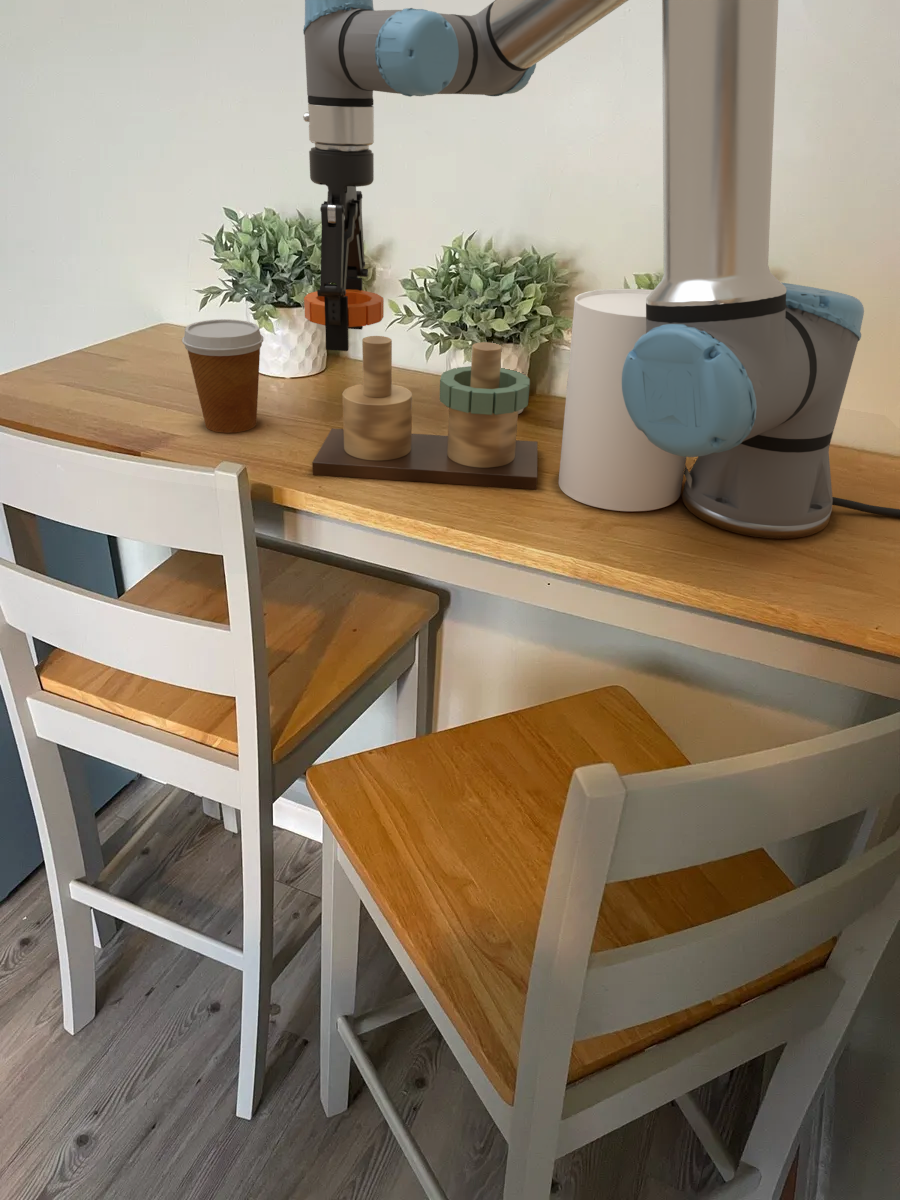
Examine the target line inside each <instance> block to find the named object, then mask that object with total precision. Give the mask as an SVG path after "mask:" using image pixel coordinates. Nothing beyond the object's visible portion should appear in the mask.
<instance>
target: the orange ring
mask: <svg viewBox="0 0 900 1200" xmlns="http://www.w3.org/2000/svg"><path fill="white" fill-rule="evenodd" d="M345 296H348V327H357V326H363V327H366V326H372V325H374V324H377V323H381V322H382V320H383V319H384V309H385V307H384V306H385V304H384V297H383V296H381V295H380V294H379V293H376V292H372V291H368V290H367V291H366V290H363V289H362V290H361V291H359V290H351V289H346V295H345ZM303 305H304V306H303V307H304V318H305V319H306V320H308V321H309V322H310V323H312V324H317V325H321V326H325V299H324V297H323V296H318V294H317V290H316V291H312V292H309V293H307V294H306V295H305V296H304V297H303Z"/></svg>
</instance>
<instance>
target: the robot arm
mask: <svg viewBox="0 0 900 1200" xmlns="http://www.w3.org/2000/svg"><path fill="white" fill-rule="evenodd" d="M628 1H629V0H493V1H492V2H491V3H490V4H488V5H487V6H485V7H484V8H483V9H481V10H480V11H479V12H478V13H475V14H472V15H466V14H465V15H464V14H456V13H455V14H454V13H439V12H436V11H432V10H427V9H423V8H413V7H410V8H408V7H407V8H406V7H405V8H403V9H380V10H375V9H374V0H304V25H303V29H302V30H303V35H304V53H305V57H304V58H305V75H306V94H307V95H306V96H307V103H308V104H307V110H308V112H304V113H303V116H302V118H303V121H304V122H306V123H308V140H309V141H310V142H311V143H312V144H314V147H311V148H310V150H309V151H308V156H309V157H308V158H309V159H308V160H309V178H310V181H311V182H312V183H313V184H316V185H320V186H326V187H327V198H326V200H327V201H325V200H323V203H321V205H320V208H319V211H320V217H321V218H320V219H321V235H320V236H321V238H320V243H321V245H320V281H319V282H320V286H319V289H317V290H316V291H317V294H318V296H323V297H324V299H325V325H324V330H325V350H326V351H341V352H349V330H363V328H364V326H357V327H348V296H345V295H346V289H351V290H359V291H361V290H363V278H368V277H369V269H368V268H366V260H365V246H364V226H363V204H362V203H363V194H362V191H361V190H357V187H367V186H370V185H372V184H373V183H374V180H375V179H374V178H375V176H374V175H375V173H374V170H375V169H374V168H375V167H374V165H375V164H374V163H375V162H374V160H375V159H374V152H373V151H372V149H370V146H372V145H373V144H374V143H375V107H374V92H380V93H381V92H382V93H387V94H388V93H389V94H399V95H400V94H401V95H402V96H405V97H410V98H411V97H426V96H433V95H475V96H476V95H477V96H478V95H479V96H486V97H487V96H488V97H500V96H504V95H511V94H515V93H517V92H519V91H521V90H523V89H524V88H525V87H527V85H528V84H529V81H530V79H531V78H532V75H534V73H535V70H536V68H537V64H538V63H539V62H540V61H542V60H543V59H545V58H546V57H548V56H549V55H551V54H553V52H555V51H556V50H558V49H560V48H561V47H562V46H564V45H565V44H567V43H568V42H571V40H572V39H574V38H575V37H577V36H578V35H580V34H582V33H583V32H584V31H586V30H588V29H589V28H590V27H592V26H593V25H594V24H596V23H598V22H599V21H600V20H603V18H605V17H606V16H608V15H609V14H610V13H612V12H614V11H616V10H617V9H619V7H621V6H622V5H624V4H625V3H627V2H628ZM778 16H779V0H661V38H662V39H661V49H662V50H661V53H662V54H661V55H662V59H661V61H662V65H661V66H662V67H661V68H662V72H661V73H662V195H663V196H662V204H663V205H662V206H663V207H662V211H663V212H662V213H663V215H662V218H663V221H662V223H663V227H662V229H663V230H662V231H663V236H662V237H663V239H662V240H663V274H662V278H661V280H660V282H658V284H657V285H656V286H655V287H654V289H652V290H653V291H652V292H651V293H650V295H649V296H648V297H647V298H646V334H644V335H642V336H641V337H640V338H639V339H638V341H637V342H636V343H635V345H634V348H633V349H632V350H631V351H630V352H629V353H628V355H627V357H626V360H625V363H624V366H623V371H622V393H623V398H624V402H625V405H626V408H627V411H628V413H629V415H630V417H631V419H632V421H633V422H634V424H635V425H636V427H637V428H638V429H639V430H641V431H642V432H643V433H644V434H645V435H646V436H647V438H648V440H649V441H650V442H651V443H652V444H654V445H655V446H657V447H658V448H660V449H662V450H664V451H666V452H668V453H671V454H674V455H678V456H683V457H686V458H696V460H695V462H694V464H693V465H692V467H691V469H690V471H689V468H688V467H687V465H686V464H685V470H684V477H685V482H684V484H683V491H682V495H681V496H682V498H681V499H682V502H683V505H684V507H686V509H687V510H688V511H689V512H690V513H691V514H693V516H695V517H697V518H698V519H700V520H702V521H704V522H705V523H708V524H710V525H712V526H714V527H716V528H720V529H722V530H726V531H729V532H732V533H736V534H740V535H744V536H751V537H755V538H756V537H757V538H763V539H796V538H804V537H808V536H812V535H814V534H817V533H819V532H821V531H822V530H824V529H825V528H826V527H827V526H828V524H829V521H830V518H831V514H832V511H833V506H836V507H841V508H845V509H846V508H847V509H850V510H853V511H859V512H862V513H868V514H872V515H879V516H887V517H895V518H900V508H893V507H886V506H880V505H872V504H867V503H864V502H863V503H862V502H859V501H855V500H850V499H845V498H842V497H841V498H840V497H836V496H833V485H832V475H831V474H832V473H831V464H830V462H831V461H830V446H831V441H832V438H833V434H834V431H835V427H836V424H837V420H838V416H839V413H840V409H841V405H842V401H843V398H844V395H845V391H846V387H847V384H848V380H849V378H850V377H849V376H850V373H851V369H852V365H853V362H854V359H855V355H856V352H857V347H858V344H859V341H860V340H862V339H861V338H862V332H861V330H862V324H863V321H864V316H865V315H864V314H865V307H864V305H863V302H862V301H861V300H860V299H859V298H857V297H855V296H853V295H850V294H846V293H843V292H839V291H834V290H829V289H824V288H819V287H813V286H808V285H807V286H806V285H801V284H794V283H788V282H781V281H780V280H779V279H778V278H777V277H776V276H775V275H774V274H773V273H772V272H771V270H770V267H769V266H770V265H769V256H770V254H769V252H770V230H771V229H770V228H771V227H770V226H771V225H770V224H771V203H772V202H771V201H772V200H771V199H772V176H773V175H772V174H773V173H772V171H773V152H774V151H773V147H774V122H775V121H774V120H775V97H776V96H775V94H776V72H777V71H776V70H777V69H776V68H777V47H778V45H777V42H778V21H779V20H778Z"/></svg>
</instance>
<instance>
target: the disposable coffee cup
mask: <svg viewBox="0 0 900 1200" xmlns="http://www.w3.org/2000/svg"><path fill="white" fill-rule="evenodd" d="M183 334H184V335H183V337H182V338H181V342H182V344H183V345H184V348H185V349H186V350H187V354H188V358H189V363H190V368H191V370H192V375H193V379H194V384H195V387H196V392H197V396H198V399H199V404H200V408H201V411H202V415H203V420H204V425H205V427H206V428H207V430H209V431H212V432H215V433H216V432H217V433H224V434H231V433H241V432H246V431H249V430H251V429H253V428H255V427H256V426H257V422H258V421H257V418H258V417H257V416H258V401H259V400H258V399H259V398H258V397H259V379H260V378H259V377H260V361H261V348H262V345H263V342H264V336H263V335H262V334H261V331H260V327H259V326H258V325H257V324H256V323H254V322H251V321H247V320H242V319H231V318H230V319H229V318H227V319H223V318H221V319H219V318H218V319H210V320H209V319H207V320H201V321H197V322H194V323H191V324H188V325H186V326H185V328H184V333H183Z"/></svg>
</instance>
